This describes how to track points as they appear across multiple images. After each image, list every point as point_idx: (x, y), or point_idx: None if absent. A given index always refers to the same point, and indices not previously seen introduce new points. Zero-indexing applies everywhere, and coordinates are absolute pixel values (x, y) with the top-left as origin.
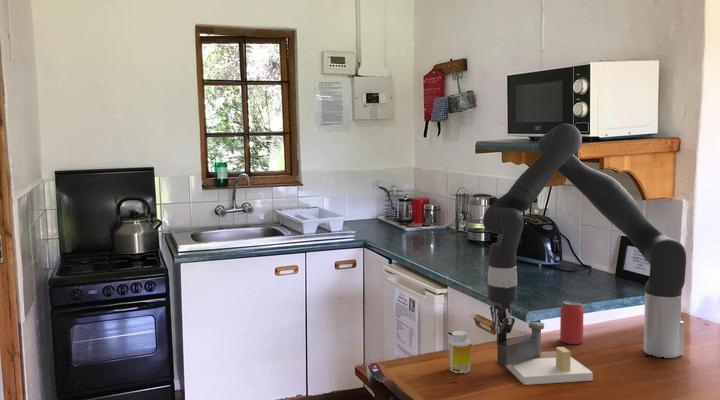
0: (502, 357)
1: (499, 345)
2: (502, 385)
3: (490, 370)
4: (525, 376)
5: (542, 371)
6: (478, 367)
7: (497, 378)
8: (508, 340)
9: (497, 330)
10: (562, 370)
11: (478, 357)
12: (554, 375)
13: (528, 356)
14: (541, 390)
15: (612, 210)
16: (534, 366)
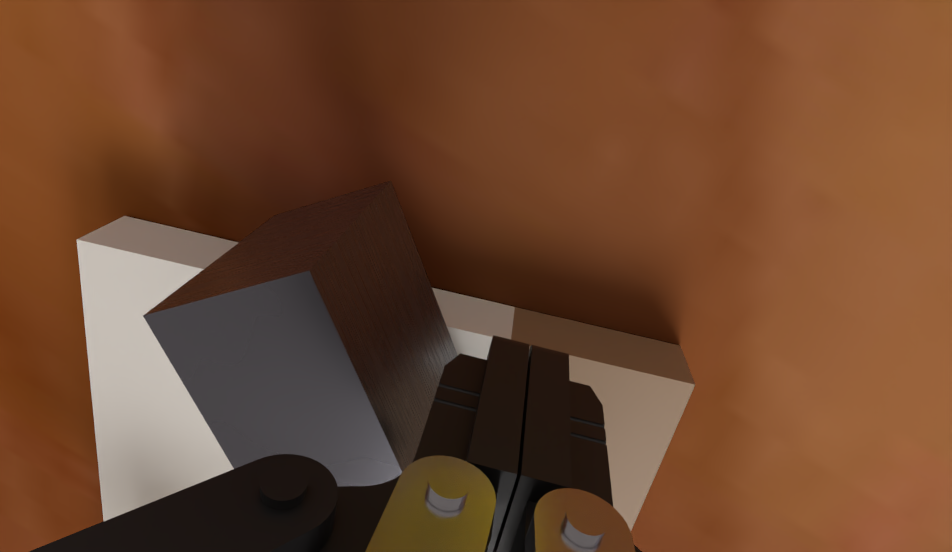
0: (295, 226)
1: (276, 271)
2: (134, 28)
3: (515, 134)
4: (86, 255)
5: (179, 434)
6: (643, 60)
7: (304, 82)
8: None
9: (535, 515)
10: None
11: (899, 222)
12: (100, 457)
13: None
14: (11, 267)
15: None
16: None
